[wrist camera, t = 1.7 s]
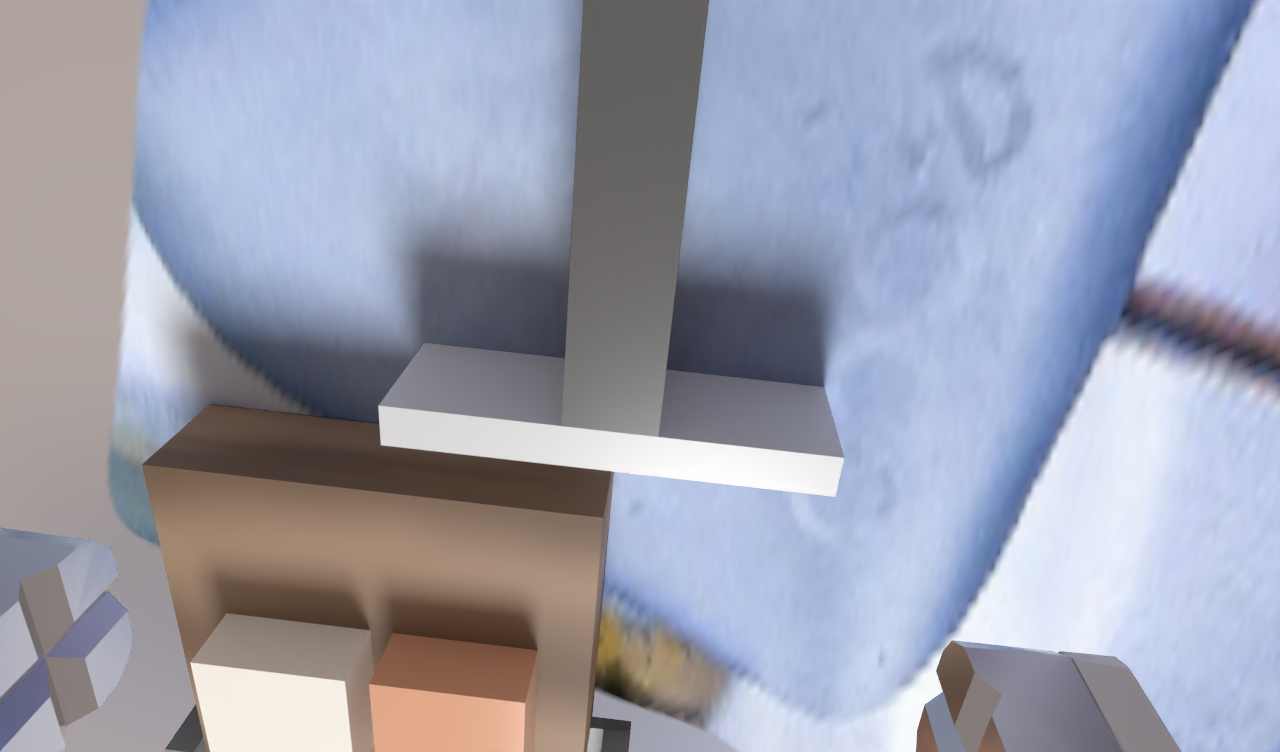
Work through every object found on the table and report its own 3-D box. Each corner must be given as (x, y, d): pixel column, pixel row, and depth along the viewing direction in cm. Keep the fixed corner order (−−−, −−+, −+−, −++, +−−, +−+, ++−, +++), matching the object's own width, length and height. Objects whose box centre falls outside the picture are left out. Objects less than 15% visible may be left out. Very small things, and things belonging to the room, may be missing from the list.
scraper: (405, -228, 18) (333, -274, 15) (945, -176, 18) (1004, -210, 14) (426, 376, 25) (380, 445, 22) (816, 420, 25) (835, 496, 21)
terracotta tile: (392, 632, 25) (369, 684, 23) (537, 650, 25) (525, 703, 23) (399, 734, 27) (377, 787, 25) (533, 750, 27) (521, 805, 25)
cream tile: (226, 613, 25) (190, 662, 23) (370, 630, 25) (344, 681, 23) (245, 715, 27) (213, 767, 26) (378, 731, 27) (355, 784, 25)
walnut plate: (209, 404, 26) (142, 464, 23) (615, 450, 26) (603, 517, 23) (256, 676, 31) (207, 754, 28) (591, 716, 31) (579, 800, 28)
